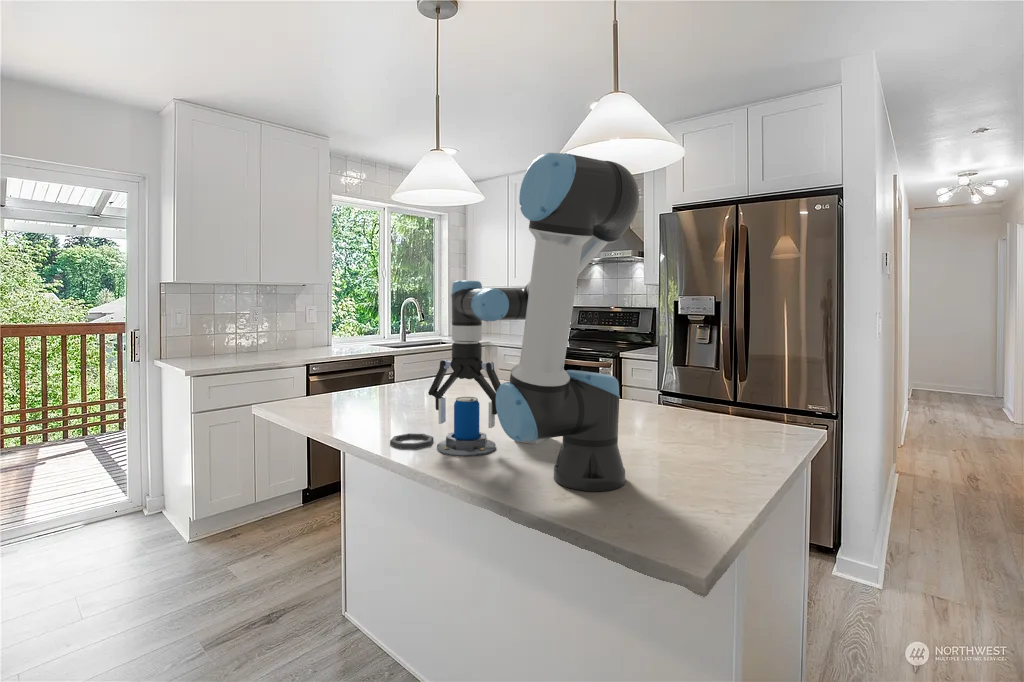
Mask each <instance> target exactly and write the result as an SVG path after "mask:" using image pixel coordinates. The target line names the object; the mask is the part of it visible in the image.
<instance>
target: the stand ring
mask: <svg viewBox="0 0 1024 682" xmlns="http://www.w3.org/2000/svg"><path fill="white" fill-rule="evenodd" d="M409 439H410V440H411V439H413V440H424V441H419V442H413V443H412V442H401V441H404V440H409ZM433 442H434V436H432V435H429V434H426V433H412V432H411V433H404V434H400V435H399V434H398V435H394V436H393V437H392V438H391V439H390V440H389V446H392V447H393V448H397V449H399V450H401V449H402V450H403V449H405V450H406V449H407V450H408V449H410V450H417V449H422V448H426V447H427V448H428V447H430V446H431V445H432V444H433Z"/></svg>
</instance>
